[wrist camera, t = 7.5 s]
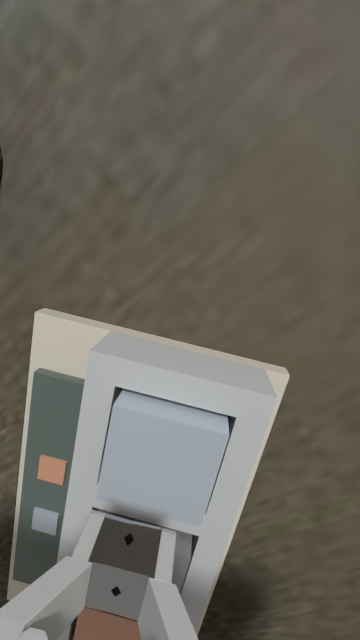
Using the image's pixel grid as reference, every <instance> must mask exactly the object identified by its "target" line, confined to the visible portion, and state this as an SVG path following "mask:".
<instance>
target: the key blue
mask: <svg viewBox="0 0 360 640" xmlns="http://www.w3.org/2000/svg"><path fill="white" fill-rule="evenodd" d="M228 439H229V425H228V415H225V414H221V413H217V412H213V411H209V410H206V409H202V408H198V407H194V406H190V405H186V404H182V403H178V402H175V401H171V400H167V399H163V398H159V397H155V396H151V395H147V394H143V393H140V392H136V391H132V390H128V389H124V388H123V390H122V391H121V393H120V395H119V396H118V398H117V400H116V401H115V403H114V404H113V409H112V414H111V419H110V425H109V430H108V435H107V441H106V446H105V451H104V457H103V462H102V467H101V473H100V478H99V484H98V489H97V494H96V499H100V500H104V501H107V502H111V503H115V504H118V505H122V506H125V507H129V508H133V509H136V510H140V511H144V512H147V513H151V514H155V515H158V516H162V517H165V518H169V519H173V520H176V521H180V522H184V523H187V524H191V525H195V526H198V527H201V525H202V521H203V518H204V515H205V512H206V509H207V505H208V502H209V499H210V496H211V493H212V490H213V486H214V483H215V480H216V477H217V474H218V470H219V467H220V464H221V461H222V458H223V454H224V451H225V448H226V445H227V442H228Z"/></svg>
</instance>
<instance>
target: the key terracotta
mask: <svg viewBox="0 0 360 640" xmlns="http://www.w3.org/2000/svg"><path fill="white" fill-rule="evenodd" d="M137 622H138V621H137V620H134V619H130V618H127V617H124V616H120V615H117V614H113V613H110V612H106V611H102V610H98V609H93V608H89V607H85V606H84V609H83V610H82V611H81V613H80V614H79V615H78V617H77V623H76V628H75V633H74V638H73V640H141V636H140V632H139V628H138V623H137Z"/></svg>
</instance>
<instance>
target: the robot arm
mask: <svg viewBox="0 0 360 640" xmlns="http://www.w3.org/2000/svg"><path fill="white" fill-rule="evenodd" d="M176 535H177V534H176V531H172V530H168V529H164V528H162V529H161V527H158V526H154V525H149V524H145V523H141V522H137V521H131V520H127V519H124V518H121V517H117V516H114V515H110V514H106V513H103V512H99V511H95V510H92V511H91V512H90V514H89V516H88V518H87V521H86V523H85V525H84V528H83V530H82V532H81V535H80V537H79V539H78V542H77V544H76V546H75V548H74V551H73V553H72V555H71V557H69V556H66V557H64V558H63V559H62V560H61V561H59V562H58V563H57V564H56V565H54V566H53V567H52V568H51V569H49V570H48V571H47V572H46V573H44V574H43V575H42V576H40V577H39V578H38V579H37V580H35V581H34V582H33V583H32V584H30V585H29V586H28V587H27V588H25V589H24V590H23V591H22V592H20V593H19V594H18V595H17V596H15V597H14V598H13V599H12V600H10V601H9V602H8V603H7V604H5V605H4V606H3V607H2V608H0V640H56V639H57V638H58V637H59V636H60V635H61V634H62V633H63V632H64V630H65V629H66V628H67V627H68V626H69V625H70V624H71V623H72V621H73V620H74V619H75V618H76V617H77V616H78V615H79V614H80V613H81V611H82V610H83V609H84V606H85V607H89V608H93V609H98V610H102V611H106V612H111V613H114V614H117V615H121V616H124V617H127V618H131V619H134V620H137V621H138V622H137V623H138V628H139V632H140V636H141V640H198V637H197V635H196V633H195V630H194V628H193V625H192V623H191V620H190V618H189V615H188V613H187V610H186V608H185V605H184V603H183V601H182V598H181V596H180V593H179V591H178V588H177V586H176V584H172V575H173V565H174V555H175V545H176Z"/></svg>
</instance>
